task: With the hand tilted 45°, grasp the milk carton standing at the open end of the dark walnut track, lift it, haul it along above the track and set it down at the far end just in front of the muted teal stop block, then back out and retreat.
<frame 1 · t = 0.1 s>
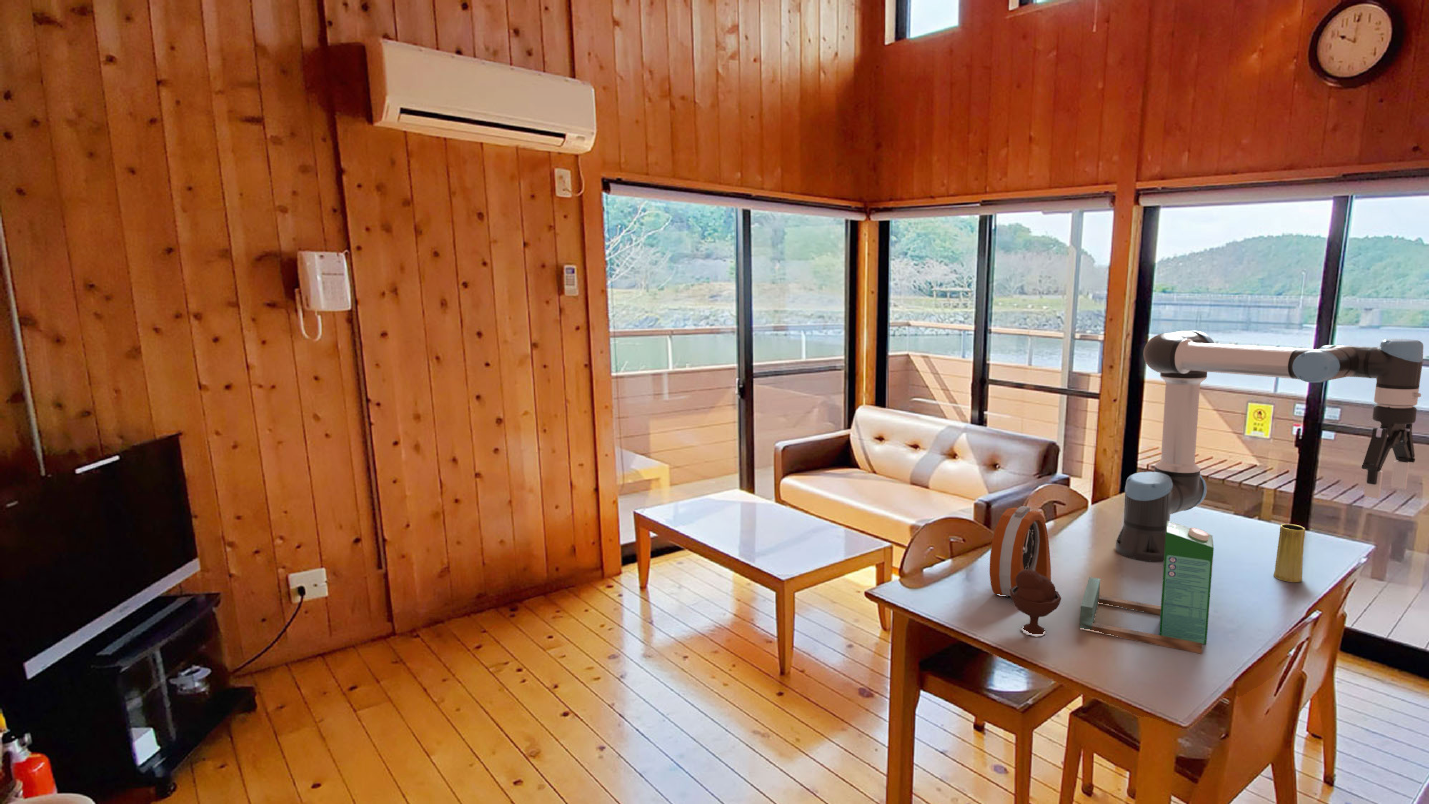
hand: (1385, 492, 177), 28 cm above the table, tool pointing down, fingers open, 13 cm apart
vase: (1287, 578, 197), on the table
alarm clock: (1022, 591, 196), on the table
milk carton: (1182, 632, 170), on the table
ice cream bowl: (1033, 632, 173), on the table
track: (1149, 625, 174), on the table
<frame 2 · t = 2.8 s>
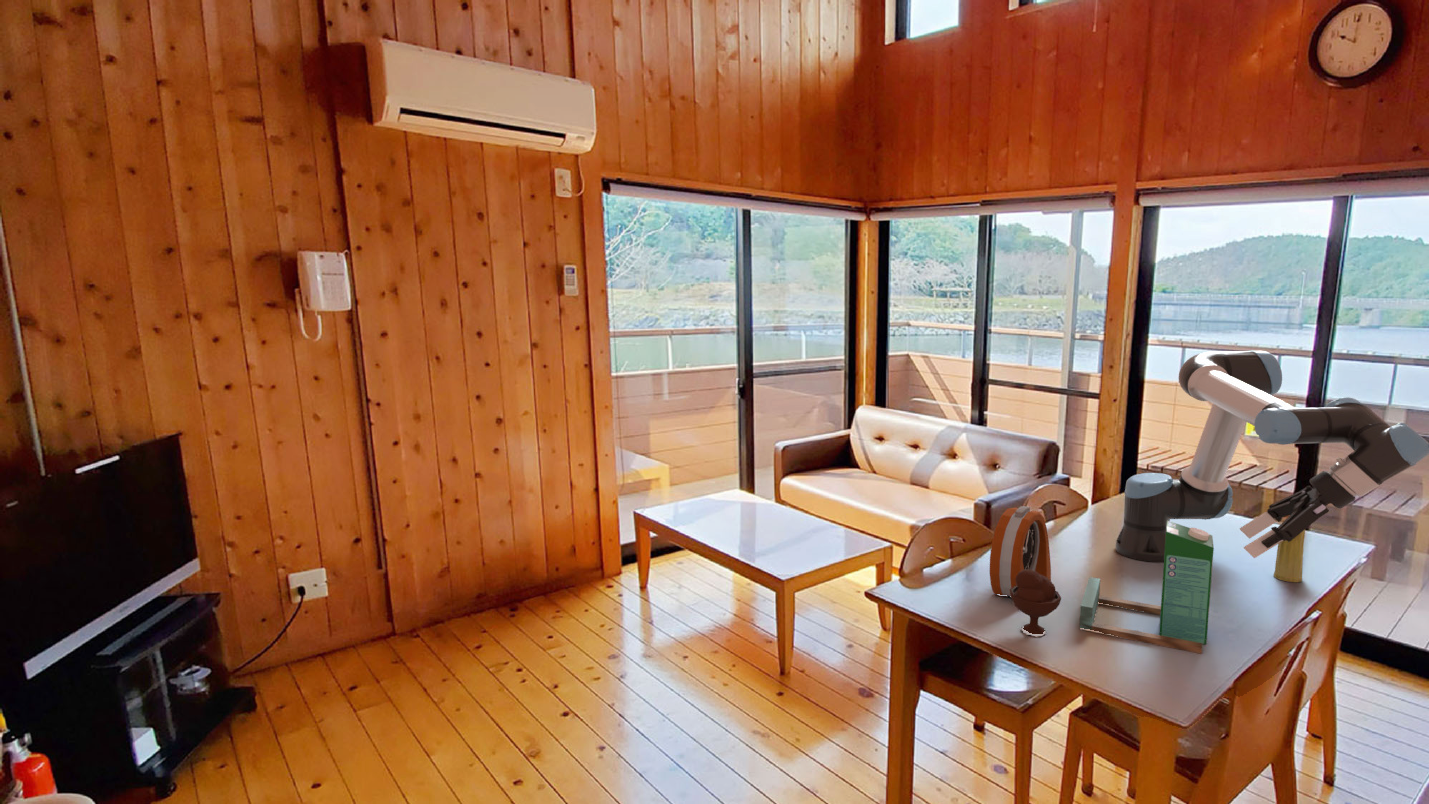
hand: (1246, 542, 161), 23 cm above the table, tool tilted 45°, fingers open, 13 cm apart
nothing on the table moved.
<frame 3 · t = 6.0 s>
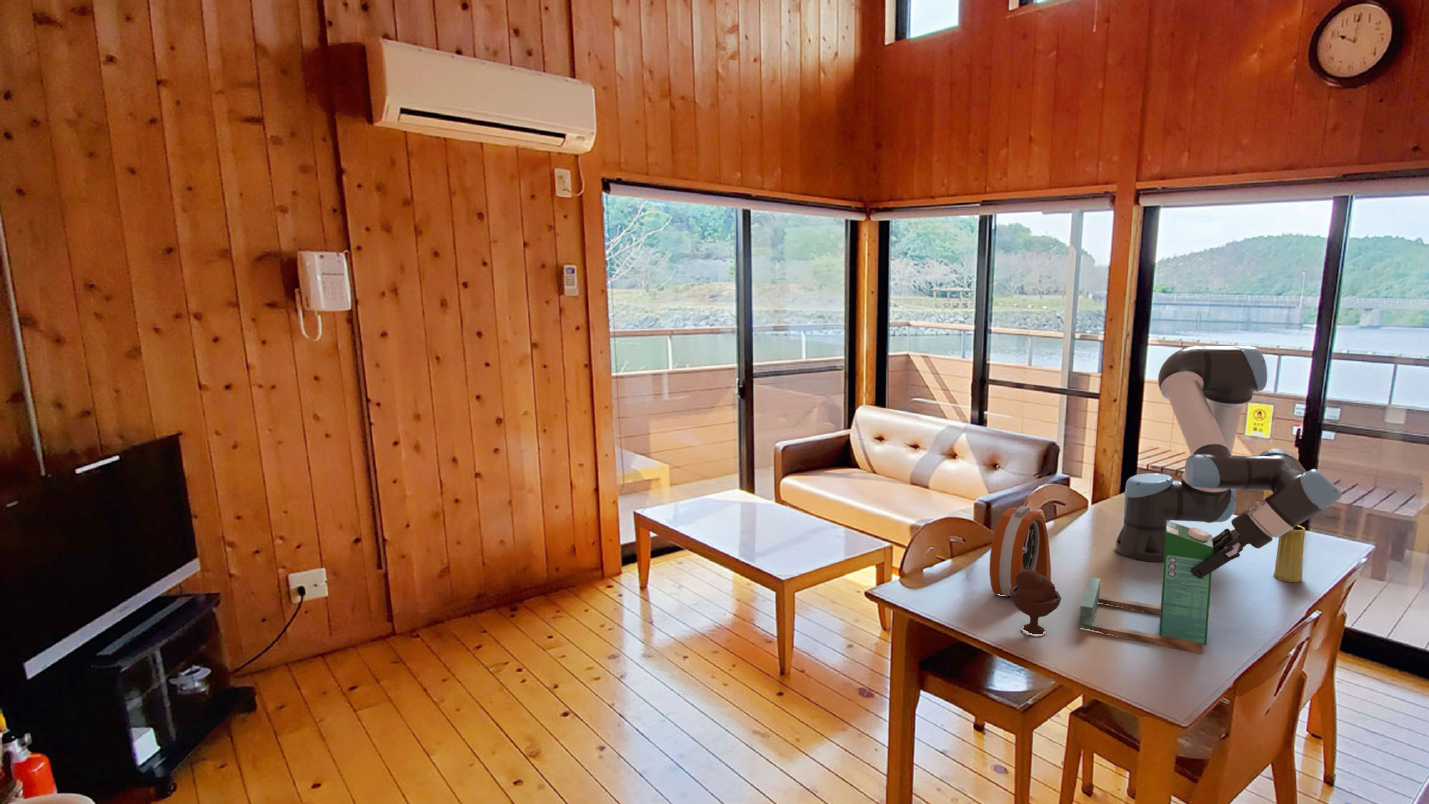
hand: (1166, 582, 170), 11 cm above the table, tool tilted 45°, fingers open, 5 cm apart
nothing on the table moved.
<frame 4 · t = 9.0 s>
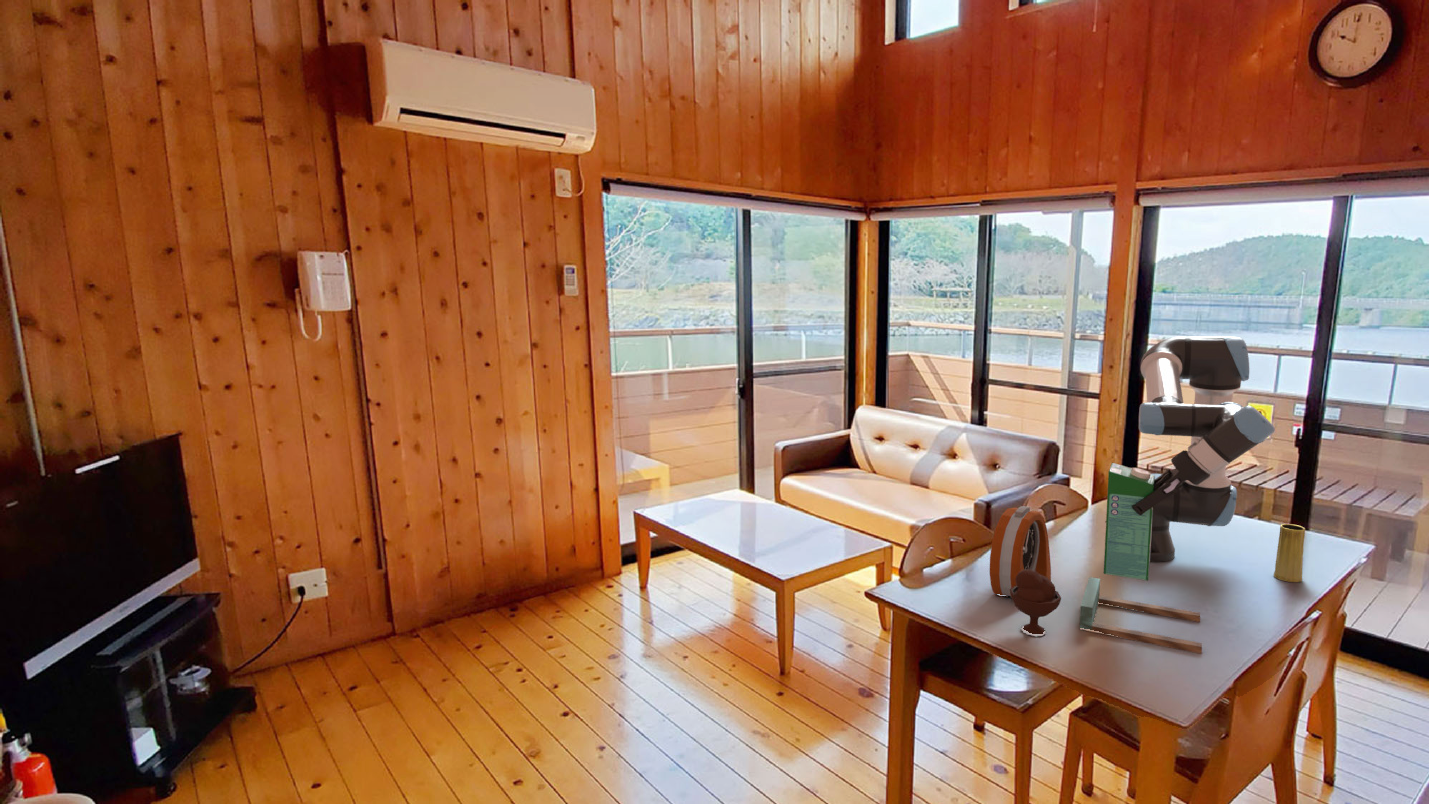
hand: (1110, 523, 175), 24 cm above the table, tool tilted 45°, fingers open, 4 cm apart
milk carton: (1126, 571, 175), point 13 cm above the table, touching hand
everything else where it was.
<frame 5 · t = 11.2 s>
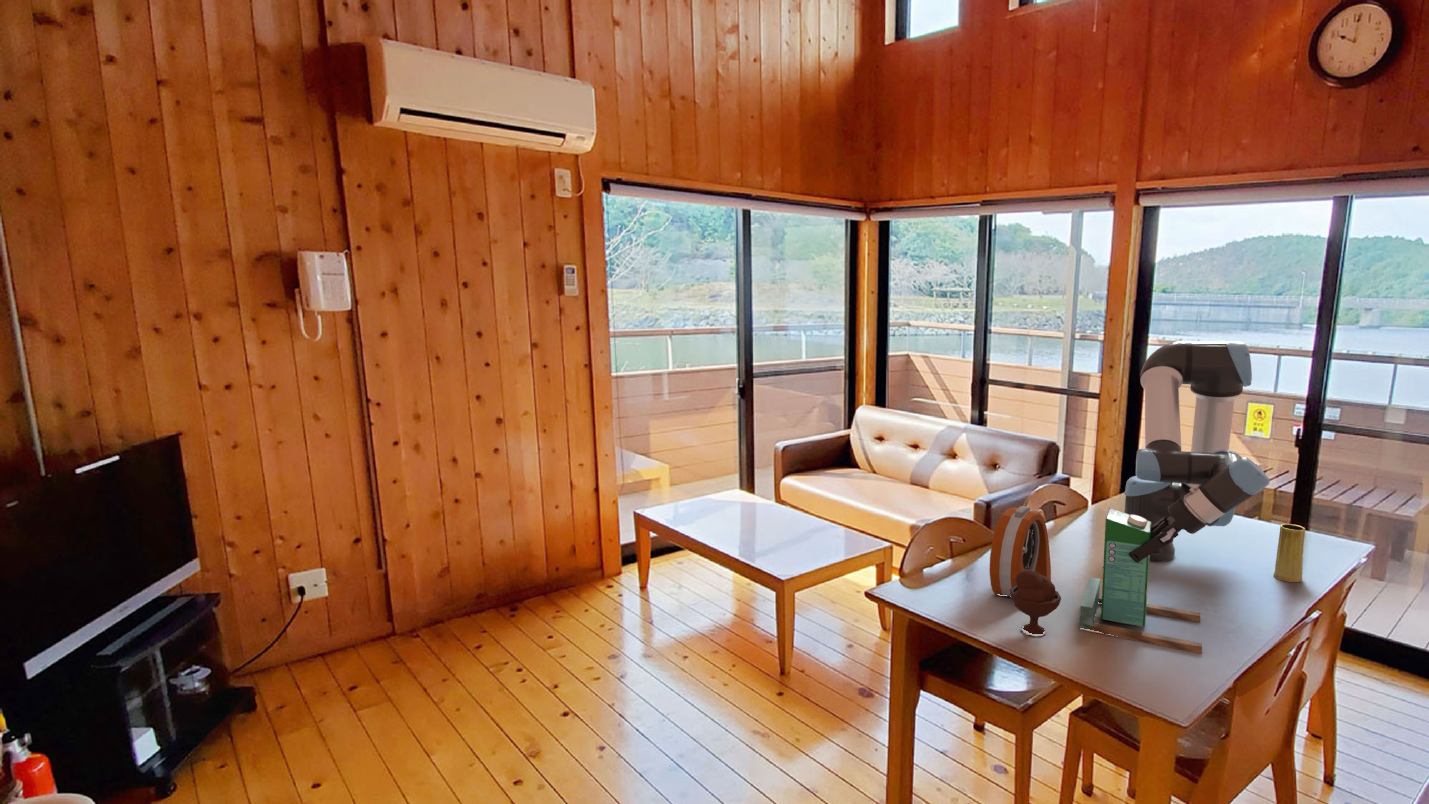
hand: (1107, 568, 177), 13 cm above the table, tool tilted 45°, fingers open, 4 cm apart
milk carton: (1123, 616, 177), point 1 cm above the table, touching hand
everything else where it was.
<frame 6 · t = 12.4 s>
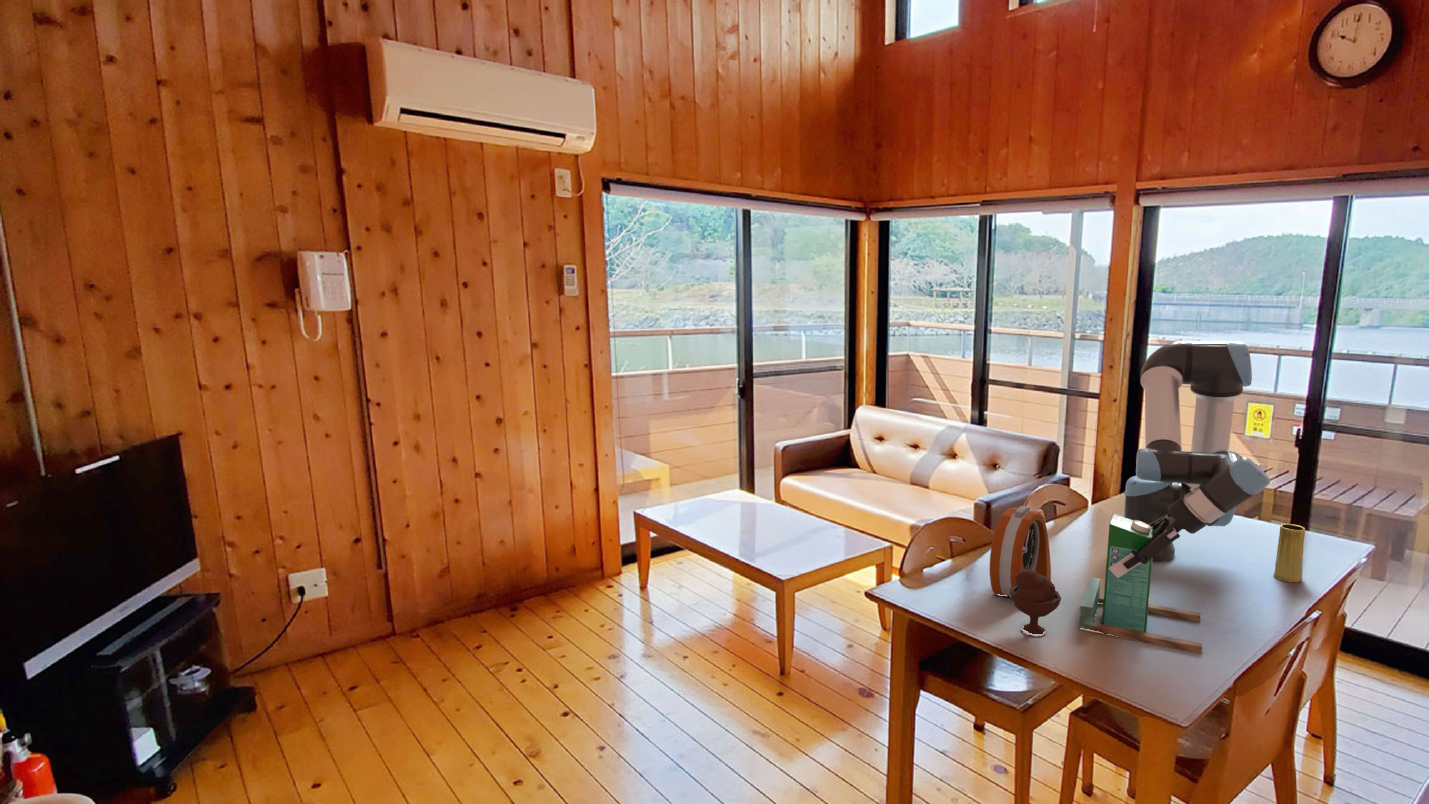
hand: (1115, 563, 176), 14 cm above the table, tool tilted 45°, fingers open, 13 cm apart
milk carton: (1124, 621, 177), on the table
everything else where it was.
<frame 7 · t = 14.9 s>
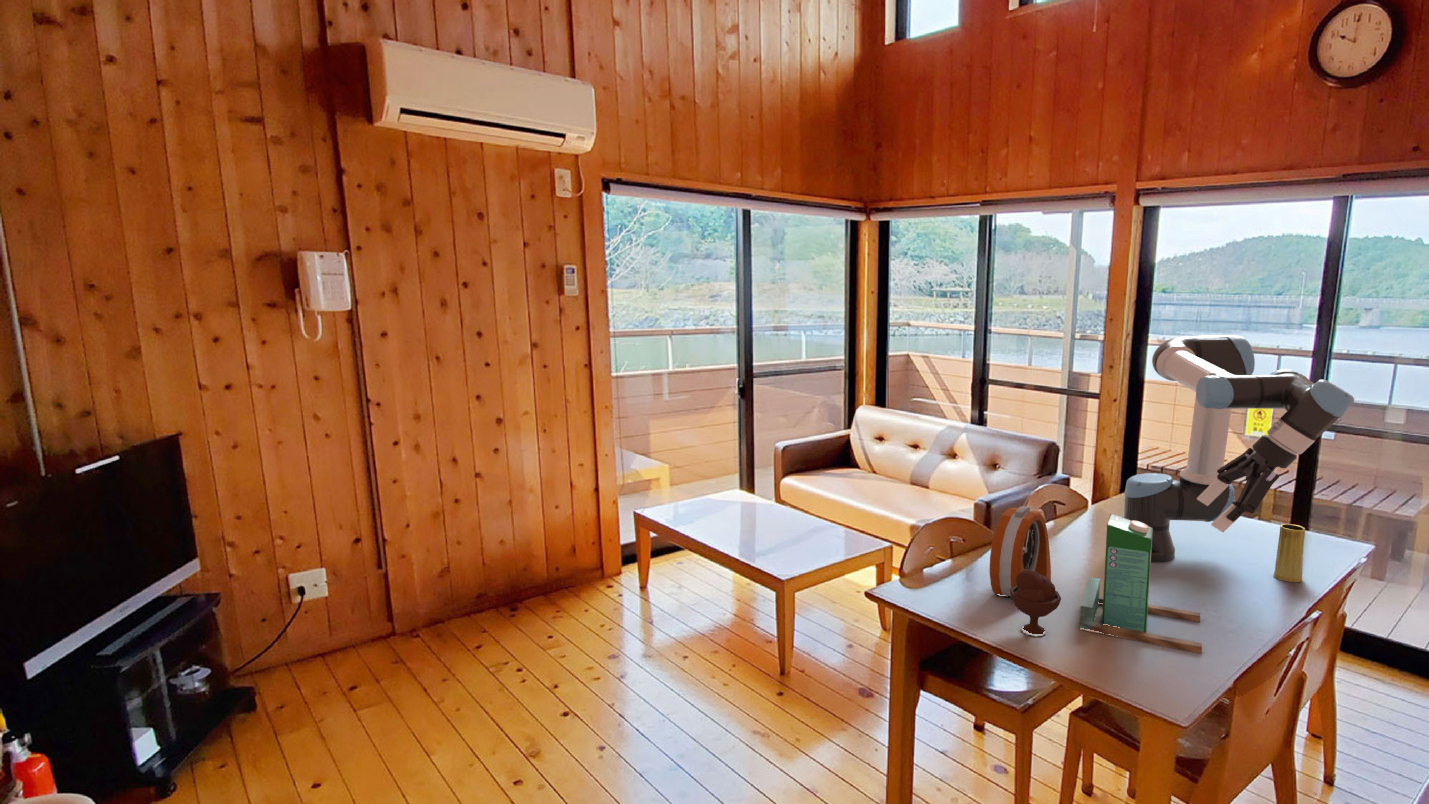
hand: (1209, 515, 169), 27 cm above the table, tool tilted 35°, fingers open, 13 cm apart
nothing on the table moved.
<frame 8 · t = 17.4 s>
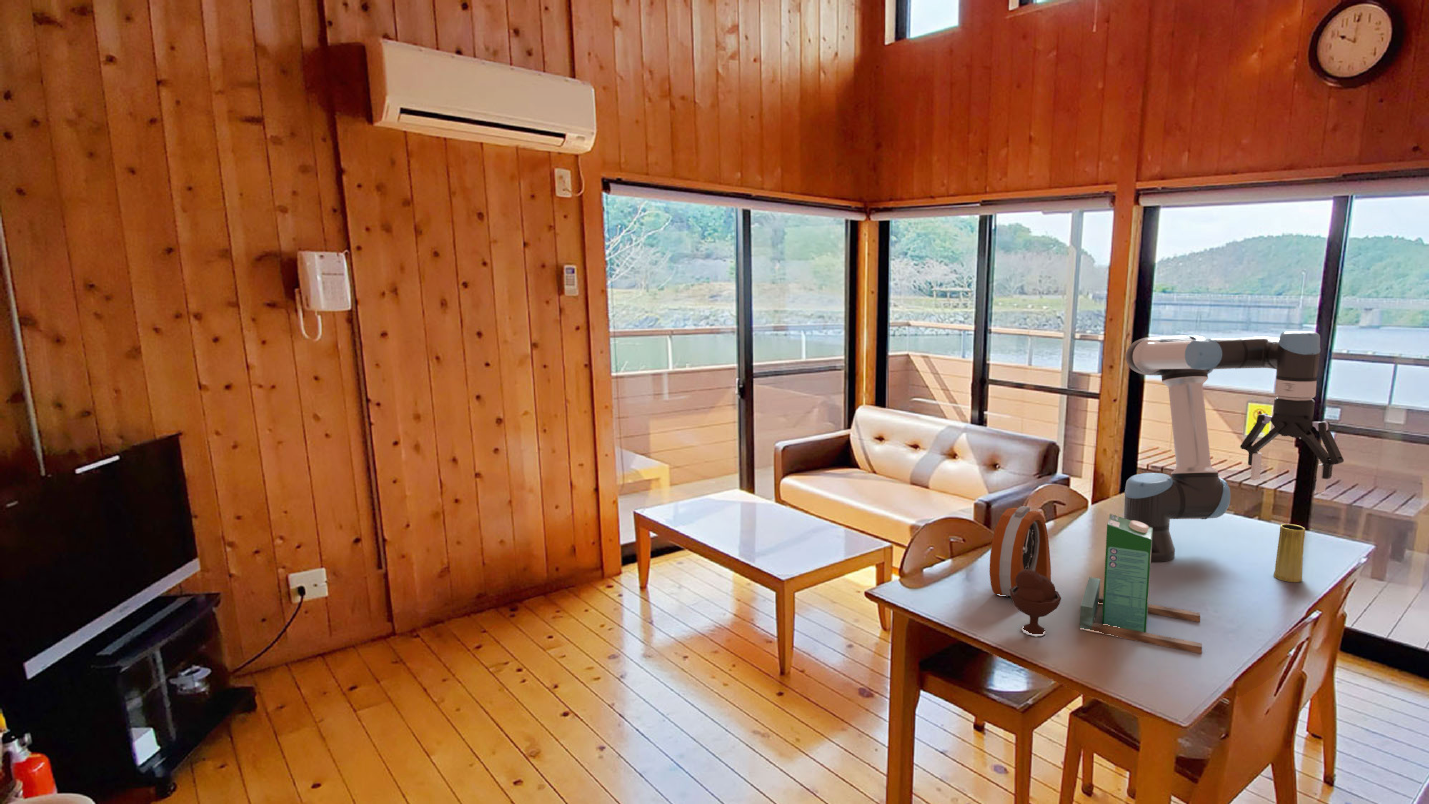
hand: (1286, 485, 177), 31 cm above the table, tool pointing down, fingers open, 13 cm apart
nothing on the table moved.
at the end: milk carton inside the target area (0.4 cm from its centre), on the table; milk carton tilted 0°; milk carton moved 11.7 cm from its start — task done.
